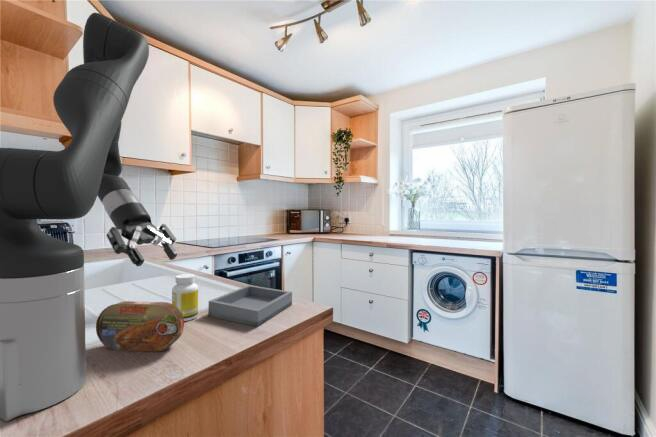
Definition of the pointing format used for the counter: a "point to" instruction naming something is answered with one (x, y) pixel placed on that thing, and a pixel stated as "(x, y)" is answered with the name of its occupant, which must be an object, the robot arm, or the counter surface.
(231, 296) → the tray
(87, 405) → the counter surface
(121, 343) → the tin
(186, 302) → the supplement bottle
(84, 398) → the counter surface
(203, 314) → the counter surface
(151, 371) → the counter surface
